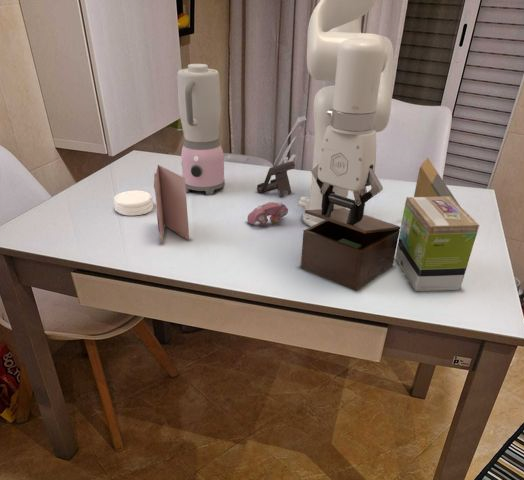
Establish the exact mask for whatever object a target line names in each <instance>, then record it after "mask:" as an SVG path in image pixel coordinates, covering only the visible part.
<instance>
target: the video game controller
mask: <svg viewBox="0 0 524 480" xmlns="http://www.w3.org/2000/svg"><path fill="white" fill-rule="evenodd" d="M288 213H289V209H288V207H287V206H286V205H285V204H284V203H283V202H282V201H279V202H274V201H271V202H270V201H269V202H266V203H263V205H258V206H257V207H255V208H254V209H253V210H252V211H251V212H250V213H249V214H248V215H247V220H246V221H247V223H248V224H251V225H252V224H253V225H254V224H255V223H259V224H260V226H265V225H267V224H268V222H269V220H270V223H272V224H277V222H278V221H280V220H281V219H283V218H284V217H285V216H286V215H288ZM268 217H269V219H268Z"/></svg>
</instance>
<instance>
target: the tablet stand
mask: <svg viewBox="0 0 524 480" xmlns="http://www.w3.org/2000/svg"><path fill="white" fill-rule="evenodd" d="M295 167H296V164H295V162H294V161H292V160H291V161H287V162H284V163H281V164H278V165H275V166H271V167H269V169H268V170H267V174H266V176H265V179H264V182H261V183H259V184H257V185H256V191H257V192H258V193H259V194H261V193H265V192H266V191H269V190H272V189H276V188H277V189H278V194H279V196H280V197H281V198H284V197H285V192H287V195H291V194H292V187H291V184H290V180H289V175H288V171H291V170H294V169H295ZM272 176H274V177H275V178H273V179H272Z"/></svg>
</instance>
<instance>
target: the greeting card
mask: <svg viewBox="0 0 524 480" xmlns="http://www.w3.org/2000/svg"><path fill="white" fill-rule="evenodd" d="M153 189H154V193H155V194H154V195H155V202H156V215H157V216H156V218H157V219H156V220H157V228H158V232H159V237H160V245H163V237H164V231H165V227H167V228H168V229H170V230H172V231H173V232H175V233H177V234H178V235H180V236H182V237H183V238H184V239H186V240H188V241H190V228H189V216H188V202H187V191H186V187H185V178H184V177H183V175H180V174H178V173H176V172H174V171H172V170H170V169H168V168H166V167H163V166H161V165H160V164H157V167H156V171H155V173H154V177H153Z"/></svg>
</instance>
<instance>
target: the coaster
mask: <svg viewBox="0 0 524 480" xmlns="http://www.w3.org/2000/svg"><path fill="white" fill-rule="evenodd" d="M113 203H114V210H115V211H116V212H117V213H118V214H120V215H123V216H128V217H129V216H141V215H146V214H148V213H150V212H151V211H152V210H153V209H154V201H153V196H152V194H151V193H150V192H147V191H145V190H127V191H121V192H120V193H117V194H116V195H115V196H114V197H113Z"/></svg>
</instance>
